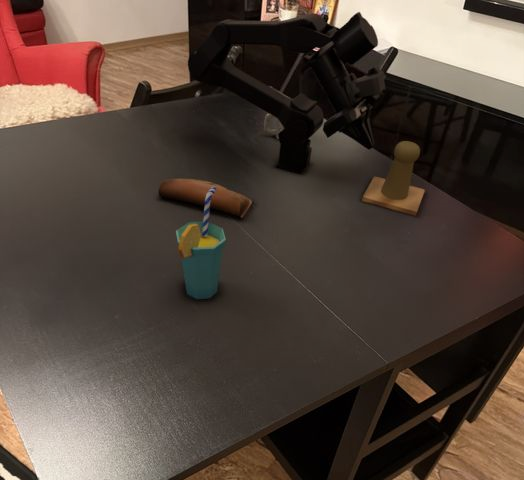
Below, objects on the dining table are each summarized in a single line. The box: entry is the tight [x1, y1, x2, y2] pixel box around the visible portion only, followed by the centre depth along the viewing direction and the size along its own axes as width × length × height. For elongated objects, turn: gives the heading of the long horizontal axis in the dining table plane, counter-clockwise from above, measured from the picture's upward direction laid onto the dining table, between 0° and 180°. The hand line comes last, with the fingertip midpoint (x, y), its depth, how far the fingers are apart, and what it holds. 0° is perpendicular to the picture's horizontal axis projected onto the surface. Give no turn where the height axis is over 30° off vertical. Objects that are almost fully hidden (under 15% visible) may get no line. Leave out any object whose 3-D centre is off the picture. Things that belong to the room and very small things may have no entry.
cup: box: [175, 187, 227, 300], centre depth 75 cm, size 14×8×15 cm, turn 170°
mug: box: [263, 112, 284, 140], centre depth 122 cm, size 10×7×7 cm, turn 98°
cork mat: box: [361, 176, 426, 217], centre depth 107 cm, size 12×11×1 cm
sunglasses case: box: [158, 178, 253, 219], centre depth 98 cm, size 18×7×7 cm
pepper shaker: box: [381, 140, 421, 200], centre depth 102 cm, size 6×6×11 cm
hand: (371, 147), depth 103 cm, fingers closed
